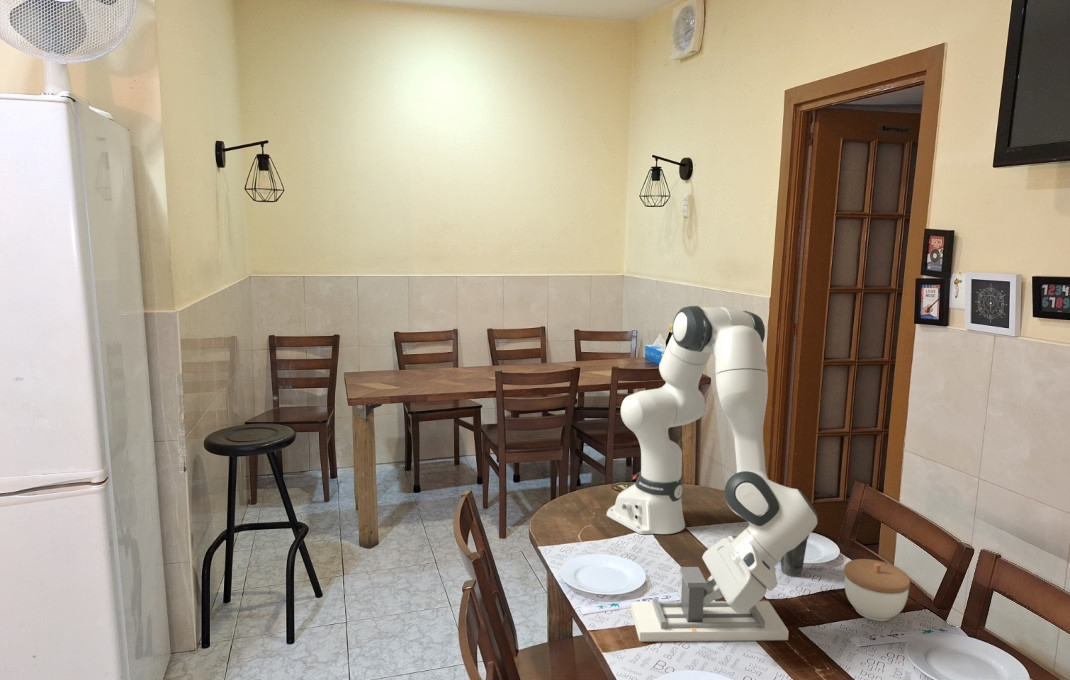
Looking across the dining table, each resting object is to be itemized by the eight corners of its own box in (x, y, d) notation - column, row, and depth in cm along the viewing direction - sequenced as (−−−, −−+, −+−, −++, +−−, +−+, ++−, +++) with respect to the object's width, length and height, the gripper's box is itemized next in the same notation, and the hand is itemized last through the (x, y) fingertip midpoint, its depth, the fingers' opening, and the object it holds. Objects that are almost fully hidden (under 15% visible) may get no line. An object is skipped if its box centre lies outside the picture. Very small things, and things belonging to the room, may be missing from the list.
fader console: (639, 641, 133) (640, 625, 133) (630, 610, 144) (631, 595, 144) (788, 640, 134) (789, 624, 134) (768, 609, 145) (768, 594, 144)
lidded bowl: (880, 635, 136) (885, 585, 134) (828, 604, 147) (832, 558, 145) (919, 619, 142) (924, 570, 140) (866, 590, 153) (870, 545, 151)
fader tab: (686, 623, 136) (687, 582, 134) (678, 606, 142) (680, 567, 140) (704, 623, 136) (706, 582, 134) (696, 606, 142) (698, 566, 140)
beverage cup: (810, 581, 157) (816, 500, 153) (777, 578, 158) (782, 498, 155) (804, 566, 164) (809, 489, 161) (773, 563, 165) (778, 486, 162)
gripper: (726, 522, 147) (680, 564, 148) (758, 569, 127) (705, 617, 128) (745, 541, 148) (699, 582, 149) (780, 590, 127) (727, 637, 129)
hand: (702, 599), depth 138 cm, fingers closed, pressing on fader tab
